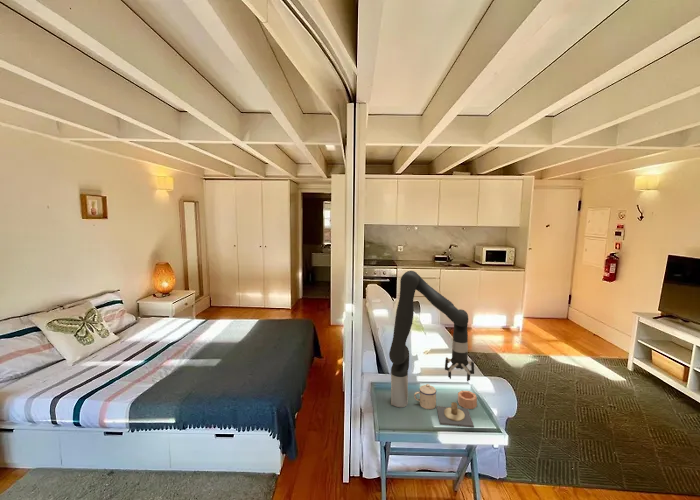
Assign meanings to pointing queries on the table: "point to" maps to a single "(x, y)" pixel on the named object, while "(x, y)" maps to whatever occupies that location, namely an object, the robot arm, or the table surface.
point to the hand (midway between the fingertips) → (458, 379)
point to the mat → (444, 421)
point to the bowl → (467, 399)
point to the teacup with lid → (427, 396)
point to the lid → (454, 413)
